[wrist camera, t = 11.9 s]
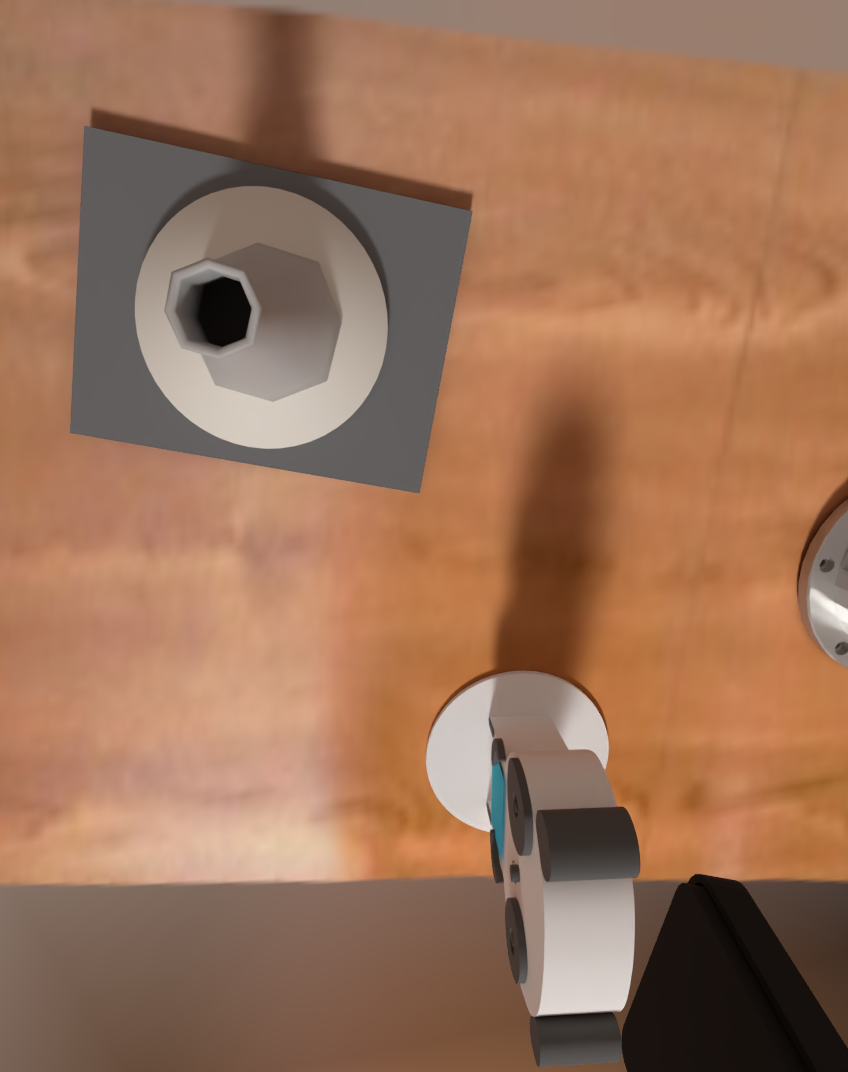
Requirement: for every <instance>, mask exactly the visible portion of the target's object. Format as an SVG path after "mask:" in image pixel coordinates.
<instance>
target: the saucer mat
mask: <svg viewBox="0 0 848 1072" xmlns="http://www.w3.org/2000/svg"><path fill="white" fill-rule="evenodd" d="M471 216H472V211H469V210H464V209H460V208H455V207H451V206H446V205H441V204H437V203H432V202H428V201H423V200H419V199H414V198H410V197H405V196H401V195H396V194H392V193H387V192H383V191H378V190H373V189H369V188H364V187H360V186H355V185H351V184H346V183H342V182H337V181H333V180H328V179H324V178H319V177H315V176H310V175H306V174H301V173H296V172H292V171H287V170H283V169H278V168H274V167H269V166H265V165H260V164H256V163H251V162H247V161H242V160H238V159H233V158H229V157H224V156H219V155H215V154H210V153H206V152H201V151H197V150H192V149H188V148H183V147H179V146H174V145H170V144H165V143H161V142H156V141H151V140H147V139H142V138H138V137H133V136H129V135H124V134H120V133H115V132H111V131H106V130H102V129H97V128H93V127H88V126H84V146H83V167H82V189H81V210H80V232H79V253H78V275H77V296H76V318H75V339H74V361H73V382H72V404H71V425H70V433H74V434H80V435H86V436H92V437H97V438H103V439H109V440H115V441H120V442H126V443H132V444H138V445H144V446H149V447H155V448H161V449H167V450H172V451H178V452H184V453H190V454H196V455H201V456H207V457H213V458H219V459H224V460H230V461H236V462H242V463H248V464H253V465H259V466H265V467H271V468H276V469H282V470H288V471H294V472H300V473H305V474H311V475H317V476H323V477H328V478H334V479H340V480H346V481H352V482H357V483H363V484H369V485H375V486H380V487H386V488H392V489H398V490H404V491H409V492H415V493H419V492H420V487H421V482H422V476H423V471H424V466H425V460H426V455H427V450H428V444H429V439H430V434H431V429H432V423H433V418H434V413H435V407H436V402H437V397H438V391H439V386H440V381H441V375H442V370H443V365H444V360H445V354H446V349H447V344H448V338H449V333H450V328H451V322H452V317H453V312H454V306H455V301H456V296H457V291H458V285H459V280H460V275H461V269H462V264H463V259H464V253H465V248H466V243H467V237H468V232H469V227H470V222H471ZM255 243H261V244H264V245H267V246H271V247H274V248H277V249H280V250H283V251H286V252H289V253H292V254H296V255H299V256H302V257H305V258H308V259H311V260H314V261H317V262H319V264H320V267H321V270H322V272H323V275H324V277H325V280H326V282H327V285H328V288H329V290H330V293H331V295H332V298H333V301H334V303H335V306H336V308H337V311H338V314H339V316H340V319H341V321H342V324H341V328H340V332H339V336H338V340H337V344H336V348H335V352H334V356H333V360H332V364H331V368H330V372H329V376H328V380H327V381H326V382H323V383H321V384H318V385H316V386H313V387H310V388H308V389H305V390H303V391H300V392H298V393H295V394H292V395H290V396H287V397H285V398H282V399H279V400H277V401H274V402H272V401H268V400H265V399H261V398H258V397H254V396H251V395H247V394H244V393H241V392H237V391H234V390H230V389H227V388H223V387H220V386H216V385H215V384H214V382H213V379H212V377H211V375H210V373H209V371H208V368H207V366H206V364H205V362H204V359H203V357H202V355H201V354H199V353H196V352H193V351H189V350H186V349H182V348H181V346H180V344H179V342H178V340H177V338H176V336H175V333H174V331H173V329H172V327H171V325H170V322H169V320H168V318H167V316H166V314H165V312H164V309H165V304H166V299H167V293H168V288H169V282H170V277H171V272H172V271H175V270H177V269H180V268H182V267H185V266H187V265H190V264H192V263H195V262H197V261H200V260H202V259H205V258H210V259H213V260H215V259H218V258H220V257H223V256H225V255H228V254H230V253H233V252H235V251H238V250H240V249H243V248H245V247H248V246H250V245H253V244H255Z"/></svg>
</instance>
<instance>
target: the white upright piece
mask: <svg viewBox="0 0 848 1072" xmlns="http://www.w3.org/2000/svg"><path fill="white" fill-rule="evenodd" d="M608 752H609V744H608V735H607V731H606V727H605V724H604V722H603V719H602V717H601V715H600V713H599V712H598V710H597V708H596V707H595V705H594V704H593V703H592V701H591V700H590V699H589V698H588V697H587V696H586V695H585V694H584V693H583V692H582V691H581V690H580V689H579V688H577V687H576V686H574V685H573V684H571V683H570V682H568V681H566V680H564V679H562V678H559V677H557V676H554V675H550V674H547V673H542V672H537V671H509V672H504V673H499V674H495V675H492V676H489V677H486V678H483V679H481V680H479V681H477V682H475V683H473V684H471V685H470V686H468V687H466V688H465V689H463V690H462V691H461V692H459V693H458V694H457V695H456V696H455V697H453V698H452V699H451V700H450V701H449V702H448V703H447V705H446V706H445V707H444V708H443V710H442V711H441V712H440V714H439V715H438V717H437V718H436V720H435V722H434V724H433V726H432V729H431V731H430V734H429V738H428V742H427V748H426V766H427V773H428V778H429V781H430V784H431V786H432V789H433V791H434V793H435V795H436V796H437V798H438V799H439V801H440V802H441V803H442V805H443V806H444V807H445V808H446V809H447V810H448V811H449V812H450V813H451V814H452V815H454V816H455V817H456V818H458V819H459V820H461V821H463V822H464V823H466V824H468V825H470V826H472V827H475V828H477V829H480V830H483V831H488V832H490V843H491V859H492V868H493V874H494V879H495V881H496V883H497V884H499V883H504V888H505V899H506V908H505V922H506V923H505V924H506V938H507V947H508V955H509V960H510V966H511V970H512V974H513V977H514V980H515V982H516V984H521V988H522V992H523V995H524V998H525V1001H526V1004H527V1007H528V1010H529V1012H530V1014H531V1015H532V1016H531V1018H530V1034H531V1042H532V1047H533V1052H534V1056H535V1060H536V1063H537V1066H538V1067H544V1066H561V1065H577V1064H592V1063H608V1062H620V1060H621V1054H622V1043H621V1035H620V1030H619V1026H618V1023H617V1020H616V1017H615V1015H614V1014H613V1013H612V1012H619V1011H621V1010H622V1009H623V1008H624V1006H625V1003H626V1000H627V996H628V992H629V987H630V982H631V975H632V967H633V956H634V933H635V932H634V931H635V924H634V923H635V915H634V914H635V913H634V894H633V885H632V878H636V877H638V875H639V873H640V853H639V845H638V840H637V835H636V832H635V828H634V825H633V823H632V820H631V817H630V815H629V813H628V811H627V810H626V809H625V808H624V807H617V805H616V801H615V798H614V795H613V791H612V788H611V786H610V783H609V780H608V777H607V775H606V772H605V768H606V764H607V760H608ZM500 865H501V866H500ZM501 869H502V870H501Z"/></svg>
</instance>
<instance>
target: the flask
mask: <svg viewBox="0 0 848 1072" xmlns="http://www.w3.org/2000/svg"><path fill="white" fill-rule="evenodd" d="M164 312H165V314H166V316H167V318H168V320H169V322H170V325H171V327H172V329H173V331H174V333H175V336H176V338H177V340H178V342H179V344H180V346H181V348H182V349H186V350H189V351H193V352H196V353H199V354H201V355H202V357H203V359H204V362H205V364H206V366H207V368H208V371H209V373H210V375H211V377H212V379H213V382H214V384H215V385H216V386H220V387H223V388H227V389H230V390H234V391H237V392H241V393H244V394H247V395H251V396H254V397H258V398H261V399H265V400H268V401H272V402H274V401H277V400H279V399H282V398H285V397H287V396H290V395H292V394H295V393H298V392H300V391H303V390H305V389H308V388H310V387H313V386H316V385H318V384H321V383H323V382H326V381H327V380H328V376H329V372H330V368H331V364H332V360H333V356H334V352H335V348H336V344H337V340H338V336H339V332H340V328H341V324H342V321H341V319H340V316H339V314H338V311H337V308H336V306H335V303H334V301H333V298H332V295H331V293H330V290H329V288H328V285H327V282H326V280H325V277H324V275H323V272H322V270H321V267H320V264H319V262H317V261H314V260H311V259H308V258H305V257H302V256H299V255H296V254H292V253H289V252H286V251H283V250H280V249H277V248H274V247H271V246H267V245H264V244H261V243H255V244H253V245H250V246H248V247H245V248H243V249H240V250H238V251H235V252H233V253H230V254H228V255H225V256H223V257H220V258H218V259H215V260H213V259H210V258H205V259H202V260H200V261H197V262H195V263H192V264H190V265H187V266H185V267H182V268H180V269H177V270H175V271H172V272H171V277H170V282H169V288H168V293H167V299H166V304H165V309H164Z"/></svg>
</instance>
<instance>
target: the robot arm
mask: <svg viewBox="0 0 848 1072" xmlns="http://www.w3.org/2000/svg"><path fill="white" fill-rule="evenodd" d="M798 603H799V608H800V613H801V618H802V621H803V623H804V625H805V628H806V630H807V632H808V634H809V636H810V637H811V638H812V640H813V641H814V642H815V644H816V645H817V646H818V648H819V649H820V650H822V651H823V652H824V653H825V654H826V655H828V656H829V657H830V658H831V659H833V660H834V661H836V662H837V663H839V664H841V665H842V666H844V667H845V668H847V669H848V499H847V500H845V501H844V502H843V503H842V504H841V505H840V506H838V507H837V508H836V509H835V510H834V511H833V513H832V514H831V515H830V516H829V517H828V518H827V520H826V521H825V522H824V523H823V524H822V525H821V527H820V529H819V530H818V532H817V534H816V535H815V537H814V538H813V540H812V542H811V543H810V546H809V548H808V551H807V553H806V556H805V558H804V561H803V563H802V568H801V573H800V578H799V582H798ZM622 1053H623V1058H624V1062H625V1066H626V1069H627V1072H848V1048H847V1047H846V1045H845V1044H844V1042H843V1040H842V1039H841V1037H840V1036H839V1034H838V1033H837V1031H836V1029H835V1028H834V1026H833V1025H832V1023H831V1021H830V1020H829V1018H828V1017H827V1015H826V1014H825V1012H824V1010H823V1009H822V1007H821V1006H820V1004H819V1003H818V1001H817V999H816V998H815V996H814V995H813V993H812V992H811V990H810V989H809V987H808V985H807V984H806V982H805V981H804V979H803V977H802V976H801V974H800V973H799V971H798V970H797V968H796V966H795V965H794V963H793V962H792V960H791V958H790V957H789V955H788V954H787V952H786V951H785V949H784V947H783V946H782V944H781V943H780V941H779V940H778V938H777V937H776V935H775V933H774V932H773V930H772V929H771V927H770V926H769V924H768V922H767V921H766V919H765V918H764V916H763V915H762V913H761V911H760V910H759V908H758V907H757V905H756V903H755V902H754V900H753V899H752V897H751V895H750V894H749V892H748V891H747V889H746V888H745V887H744V886H743V885H742V884H741V883H740V882H738V881H736V880H730V879H725V878H719V877H713V876H708V875H702V874H695V875H694V876H692V877H691V878H690V880H689V882H688V883H682V884H680V885H679V886H678V888H677V890H676V892H675V895H674V897H673V900H672V902H671V905H670V907H669V911H668V913H667V915H666V918H665V920H664V923H663V925H662V928H661V931H660V933H659V936H658V938H657V941H656V944H655V946H654V949H653V951H652V954H651V956H650V959H649V961H648V964H647V967H646V969H645V972H644V974H643V977H642V979H641V982H640V985H639V987H638V990H637V992H636V995H635V998H634V1000H633V1003H632V1005H631V1008H630V1010H629V1013H628V1015H627V1018H626V1021H625V1023H624V1026H623V1030H622Z"/></svg>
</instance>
